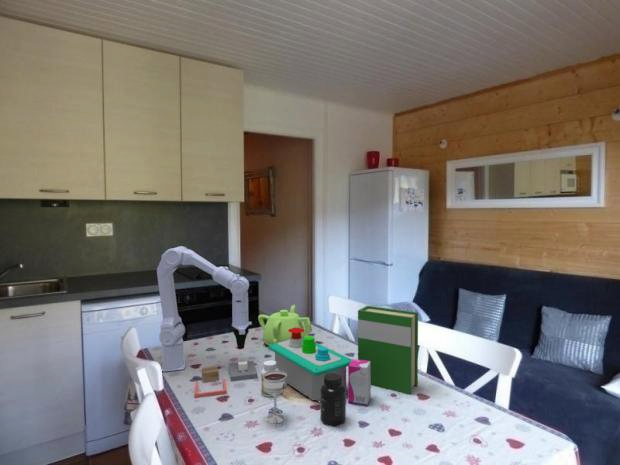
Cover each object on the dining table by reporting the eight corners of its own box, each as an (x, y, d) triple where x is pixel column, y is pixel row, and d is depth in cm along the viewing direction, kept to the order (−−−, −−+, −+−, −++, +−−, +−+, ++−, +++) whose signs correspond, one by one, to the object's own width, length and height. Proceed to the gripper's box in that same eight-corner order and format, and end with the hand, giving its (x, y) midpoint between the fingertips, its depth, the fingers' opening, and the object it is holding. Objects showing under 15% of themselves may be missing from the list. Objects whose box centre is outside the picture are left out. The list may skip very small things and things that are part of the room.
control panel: (317, 352, 111) (266, 327, 135) (317, 409, 112) (267, 373, 136) (356, 341, 119) (302, 319, 144) (357, 394, 120) (302, 363, 145)
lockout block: (202, 377, 134) (201, 367, 133) (216, 375, 135) (216, 365, 135) (203, 383, 129) (203, 373, 129) (219, 380, 131) (218, 370, 131)
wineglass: (258, 417, 107) (257, 374, 106) (278, 409, 111) (277, 368, 111) (272, 427, 102) (271, 383, 101) (292, 418, 106) (292, 375, 106)
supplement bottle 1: (276, 397, 118) (275, 366, 118) (259, 396, 119) (258, 365, 119) (281, 389, 123) (280, 359, 123) (264, 388, 125) (264, 358, 124)
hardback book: (417, 385, 126) (418, 312, 124) (410, 394, 119) (410, 317, 118) (367, 373, 135) (367, 305, 134) (358, 381, 129) (357, 310, 127)
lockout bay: (195, 384, 127) (195, 381, 127) (225, 381, 130) (225, 378, 130) (194, 397, 119) (194, 394, 119) (226, 393, 121) (226, 390, 121)
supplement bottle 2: (316, 416, 107) (316, 374, 107) (338, 411, 110) (338, 369, 109) (327, 429, 101) (327, 384, 100) (350, 423, 104) (350, 379, 103)
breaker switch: (238, 368, 136) (238, 362, 136) (246, 367, 137) (246, 361, 137) (238, 370, 134) (238, 364, 134) (247, 370, 134) (247, 363, 134)
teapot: (272, 354, 154) (271, 318, 154) (256, 339, 172) (255, 307, 172) (314, 346, 163) (313, 312, 162) (294, 333, 181) (294, 302, 180)
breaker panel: (228, 367, 142) (228, 363, 141) (253, 364, 144) (253, 360, 144) (230, 381, 130) (230, 376, 130) (257, 378, 132) (257, 373, 132)
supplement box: (371, 397, 118) (371, 360, 117) (367, 406, 112) (367, 368, 112) (352, 394, 120) (352, 358, 119) (347, 403, 114) (347, 365, 114)
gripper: (253, 315, 135) (254, 354, 135) (249, 305, 149) (249, 340, 149) (233, 317, 133) (233, 356, 134) (230, 306, 147) (231, 342, 148)
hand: (240, 348), depth 141 cm, fingers closed
